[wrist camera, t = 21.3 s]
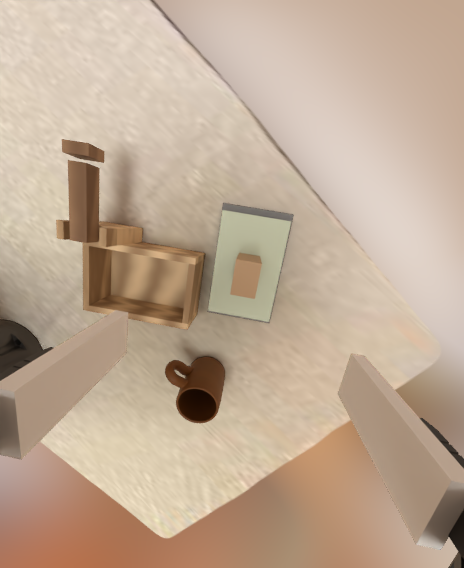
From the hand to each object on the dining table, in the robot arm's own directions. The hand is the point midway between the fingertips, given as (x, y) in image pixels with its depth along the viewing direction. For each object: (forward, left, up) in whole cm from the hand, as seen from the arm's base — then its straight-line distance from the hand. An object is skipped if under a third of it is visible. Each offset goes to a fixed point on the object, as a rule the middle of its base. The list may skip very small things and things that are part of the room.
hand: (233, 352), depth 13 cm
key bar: (-23, +8, -20) cm, 32 cm away
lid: (0, 0, -27) cm, 27 cm away
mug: (-6, -22, -29) cm, 37 cm away
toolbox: (-17, -3, -29) cm, 34 cm away
